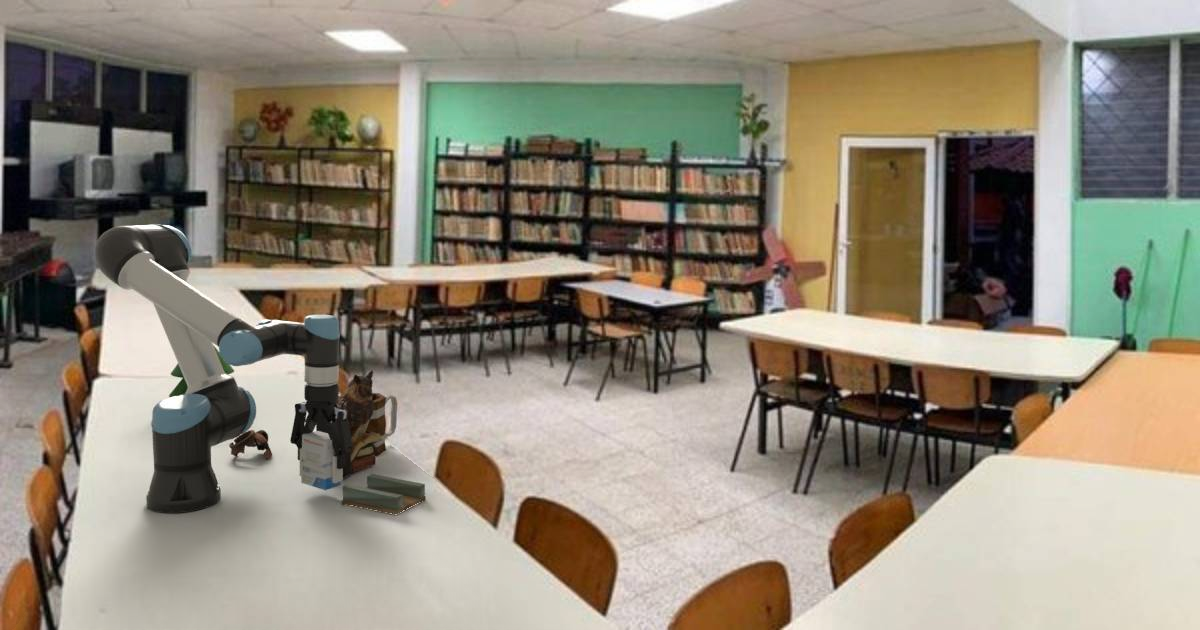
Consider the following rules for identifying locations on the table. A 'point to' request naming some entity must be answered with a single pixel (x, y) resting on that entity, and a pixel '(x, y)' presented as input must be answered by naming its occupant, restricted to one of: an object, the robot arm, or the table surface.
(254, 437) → the brown carved ornament
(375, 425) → the mug
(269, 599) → the table surface
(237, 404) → the robot arm
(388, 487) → the track
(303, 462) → the ink box
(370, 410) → the bookend
